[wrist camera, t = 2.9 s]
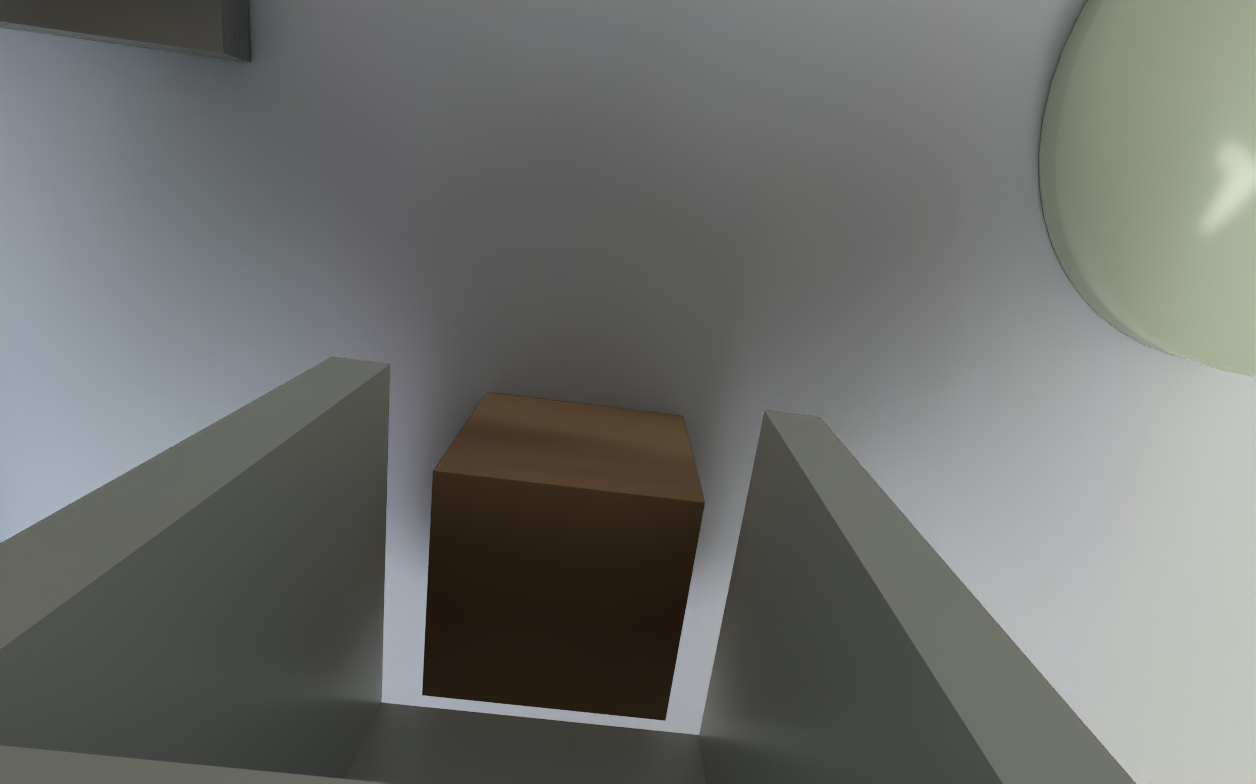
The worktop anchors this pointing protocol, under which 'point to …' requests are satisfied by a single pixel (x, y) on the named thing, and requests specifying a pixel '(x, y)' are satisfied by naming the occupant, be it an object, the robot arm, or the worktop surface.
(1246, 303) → the dish
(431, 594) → the block
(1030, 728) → the cover
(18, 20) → the balance
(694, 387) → the worktop surface
